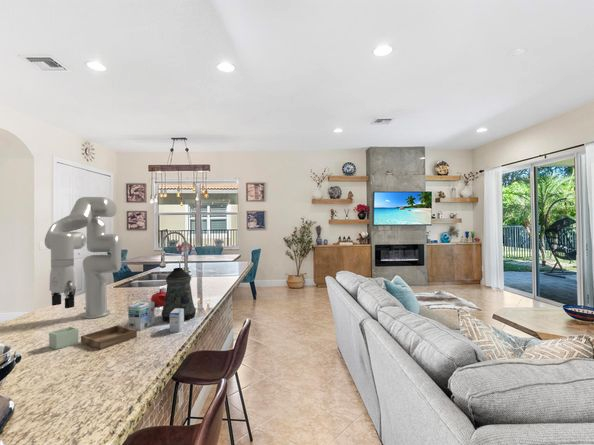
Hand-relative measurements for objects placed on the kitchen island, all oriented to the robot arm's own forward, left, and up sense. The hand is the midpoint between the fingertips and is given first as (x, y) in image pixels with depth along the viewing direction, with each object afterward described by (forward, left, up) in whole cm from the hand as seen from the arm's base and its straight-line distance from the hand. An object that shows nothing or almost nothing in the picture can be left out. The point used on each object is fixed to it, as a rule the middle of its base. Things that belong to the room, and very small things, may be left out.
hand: (63, 306), depth 134 cm
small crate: (0, 0, -16) cm, 16 cm away
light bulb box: (+7, +30, -16) cm, 35 cm away
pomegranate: (-18, +60, -16) cm, 65 cm away
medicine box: (+25, +35, -16) cm, 46 cm away
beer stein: (+10, +48, -16) cm, 52 cm away
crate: (+11, +12, -16) cm, 23 cm away
